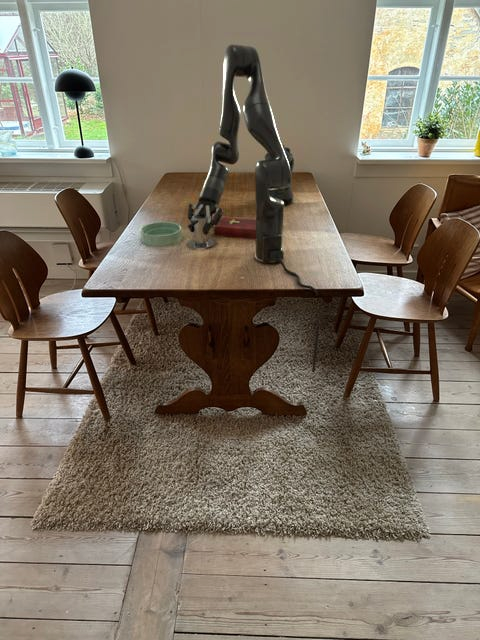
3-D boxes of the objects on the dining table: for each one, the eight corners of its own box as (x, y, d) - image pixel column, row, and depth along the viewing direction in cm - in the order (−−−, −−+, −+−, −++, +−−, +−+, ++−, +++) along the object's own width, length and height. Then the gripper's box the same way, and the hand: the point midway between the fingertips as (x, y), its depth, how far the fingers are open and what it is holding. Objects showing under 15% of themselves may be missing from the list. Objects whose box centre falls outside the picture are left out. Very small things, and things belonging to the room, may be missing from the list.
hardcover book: (266, 240, 173) (266, 230, 171) (213, 235, 177) (213, 225, 175) (272, 229, 183) (272, 219, 181) (222, 225, 187) (221, 215, 185)
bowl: (184, 245, 169) (183, 234, 167) (142, 249, 166) (141, 237, 164) (180, 231, 182) (179, 220, 180) (141, 234, 179) (139, 223, 177)
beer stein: (256, 205, 209) (256, 149, 196) (261, 193, 226) (262, 140, 213) (291, 207, 207) (295, 150, 194) (295, 195, 223) (298, 141, 210)
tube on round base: (198, 239, 173) (197, 213, 167) (210, 241, 171) (209, 215, 166) (184, 249, 164) (182, 223, 159) (196, 252, 162) (194, 225, 157)
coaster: (216, 248, 167) (216, 246, 167) (189, 250, 165) (189, 249, 165) (212, 238, 175) (212, 236, 175) (186, 240, 173) (186, 239, 173)
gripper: (191, 184, 168) (177, 225, 165) (226, 188, 163) (212, 231, 160) (199, 194, 175) (185, 234, 172) (232, 199, 170) (219, 240, 167)
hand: (198, 232), depth 166 cm, fingers open, 5 cm apart
